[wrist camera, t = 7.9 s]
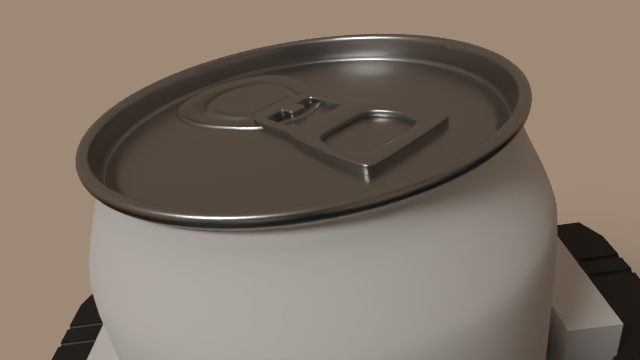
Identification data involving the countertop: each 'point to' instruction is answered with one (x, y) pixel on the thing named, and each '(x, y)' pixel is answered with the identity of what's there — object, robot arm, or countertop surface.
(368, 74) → the can
